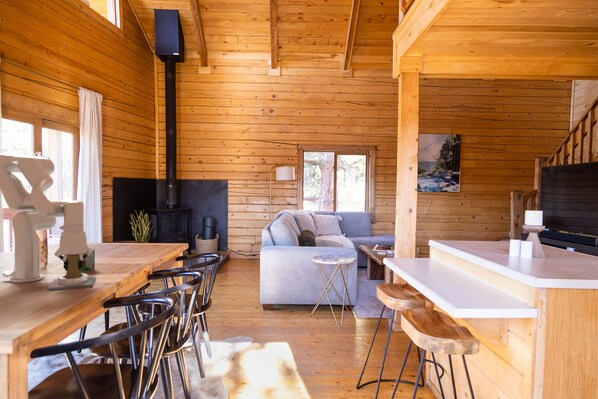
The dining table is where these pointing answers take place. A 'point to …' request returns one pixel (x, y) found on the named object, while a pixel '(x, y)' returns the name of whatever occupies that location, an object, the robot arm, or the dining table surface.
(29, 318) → the dining table surface
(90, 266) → the canned tomato
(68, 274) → the olive tapered shaker
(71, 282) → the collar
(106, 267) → the dining table surface
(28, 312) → the dining table surface
